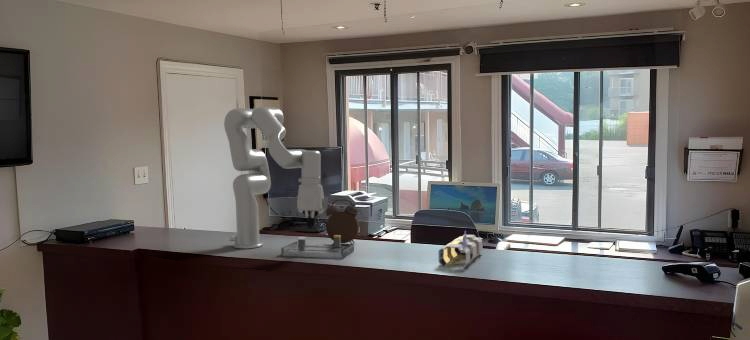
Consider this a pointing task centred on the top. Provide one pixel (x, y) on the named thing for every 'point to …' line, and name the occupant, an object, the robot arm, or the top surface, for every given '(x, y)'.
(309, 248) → the console
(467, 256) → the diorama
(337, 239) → the fader cap
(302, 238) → the fader cap
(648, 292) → the top surface
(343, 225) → the alarm clock
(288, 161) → the robot arm
